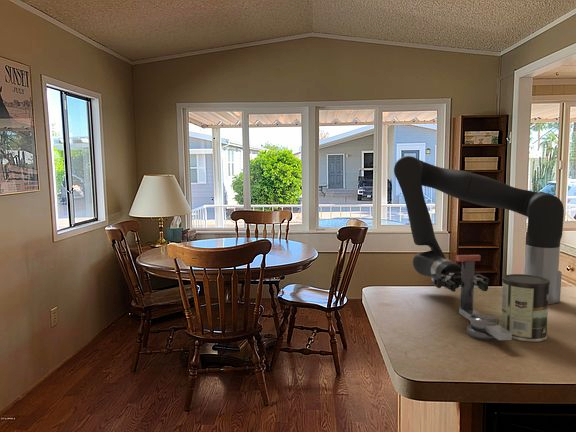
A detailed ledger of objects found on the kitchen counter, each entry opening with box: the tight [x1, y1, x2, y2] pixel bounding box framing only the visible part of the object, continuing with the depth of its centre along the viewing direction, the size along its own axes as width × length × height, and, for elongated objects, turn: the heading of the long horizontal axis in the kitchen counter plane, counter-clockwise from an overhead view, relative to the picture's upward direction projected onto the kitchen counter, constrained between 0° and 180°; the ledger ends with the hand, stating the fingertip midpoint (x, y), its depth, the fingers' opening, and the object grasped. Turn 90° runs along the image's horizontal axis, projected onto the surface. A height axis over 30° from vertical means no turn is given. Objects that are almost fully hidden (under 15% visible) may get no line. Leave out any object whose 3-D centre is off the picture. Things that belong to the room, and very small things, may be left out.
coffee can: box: [500, 273, 550, 343], centre depth 109 cm, size 10×10×14 cm
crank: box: [455, 254, 513, 341], centre depth 110 cm, size 20×6×16 cm, turn 6°
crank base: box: [466, 323, 499, 342], centre depth 110 cm, size 8×8×2 cm
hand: (470, 287), depth 116 cm, fingers open, 8 cm apart
